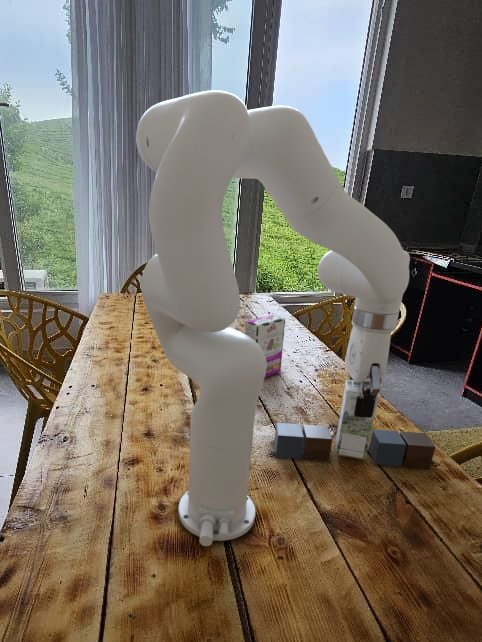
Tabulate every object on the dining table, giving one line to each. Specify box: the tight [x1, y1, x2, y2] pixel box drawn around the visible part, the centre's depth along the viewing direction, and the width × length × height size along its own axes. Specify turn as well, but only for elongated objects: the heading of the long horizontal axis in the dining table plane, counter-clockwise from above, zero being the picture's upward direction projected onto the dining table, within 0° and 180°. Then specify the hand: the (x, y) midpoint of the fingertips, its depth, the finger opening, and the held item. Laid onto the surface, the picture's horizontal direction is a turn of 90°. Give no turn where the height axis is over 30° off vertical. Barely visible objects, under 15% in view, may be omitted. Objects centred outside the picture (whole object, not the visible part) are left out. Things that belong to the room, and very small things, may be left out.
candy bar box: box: [244, 314, 286, 379], centre depth 123 cm, size 11×5×16 cm, turn 129°
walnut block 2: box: [399, 431, 436, 469], centre depth 88 cm, size 5×5×5 cm
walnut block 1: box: [301, 424, 333, 462], centre depth 89 cm, size 5×5×5 cm
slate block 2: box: [367, 428, 406, 467], centre depth 89 cm, size 5×5×5 cm
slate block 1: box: [273, 422, 304, 459], centre depth 90 cm, size 5×5×5 cm
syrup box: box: [335, 378, 379, 461], centre depth 87 cm, size 6×6×14 cm
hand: (358, 406), depth 86 cm, fingers closed on syrup box, 6 cm apart
